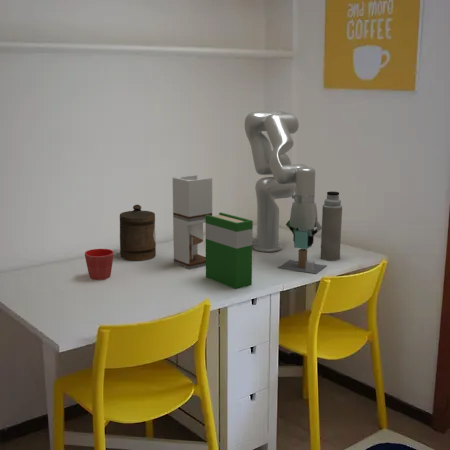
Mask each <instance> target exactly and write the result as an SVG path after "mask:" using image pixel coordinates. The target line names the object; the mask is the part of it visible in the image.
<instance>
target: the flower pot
mask: <svg viewBox="0 0 450 450" xmlns="http://www.w3.org/2000/svg"><path fill="white" fill-rule="evenodd" d="M114 253H115V252H114V251H113V250H112V249H109V248H95V249H89V250H86V251H85V252H84V257H85V263H86V266H87V268H86V269H87V272H88V276H89V279H90V280H96V281H103V280H108V279H110V278H111V274H112V268H113V261H114Z"/></svg>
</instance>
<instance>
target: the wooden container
mask: <svg viewBox="0 0 450 450" xmlns="http://www.w3.org/2000/svg"><path fill="white" fill-rule="evenodd" d="M132 209H133V210H128V211H123V212H121V213H120V214H119V255H120V258H121V259H122V260H126V261H130V262H131V261H132V262H133V261H134V262H137V261H138V262H139V261H141V262H143V261H149V260H152V259H153V258H155V257H156V254H157V247H156V246H157V245H156V243H157V241H156V238H157V237H156V214H155V212H153V211H150V210H142V206H141V205H140V204H134V205H133V207H132Z"/></svg>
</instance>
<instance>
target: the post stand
mask: <svg viewBox="0 0 450 450" xmlns="http://www.w3.org/2000/svg"><path fill="white" fill-rule="evenodd" d="M297 257H298V258H297V259H298V260H295V259H293V260H292V259H289V260H288V261H285V262H284V263H282V264H281V265H279V266H277V269H282V270H289V271H294V272H301V273H307V274H311V275H312V274H313V275H316V274H319V272H321V271H323V270H324V269H325V268H326V267H327V265H325V264H318V263H315V261H313V260H308V249H302V248H299V249H298V256H297Z"/></svg>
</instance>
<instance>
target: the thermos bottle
mask: <svg viewBox="0 0 450 450" xmlns="http://www.w3.org/2000/svg"><path fill="white" fill-rule="evenodd" d="M339 198H340V192H338V191H327V192H326V198H325V199H324V201H323V203H324V204H322V209H321V210H322V213H321V214H322V215H321V227H322V229H321V235H320V236H321V239H320V259H322V260H324V261H331V262H332V261H333V262H334V261H339V260H340V259H341V239H342V238H341V237H342V220H343V219H342V217H343V205H342V201H341V199H339Z"/></svg>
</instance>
